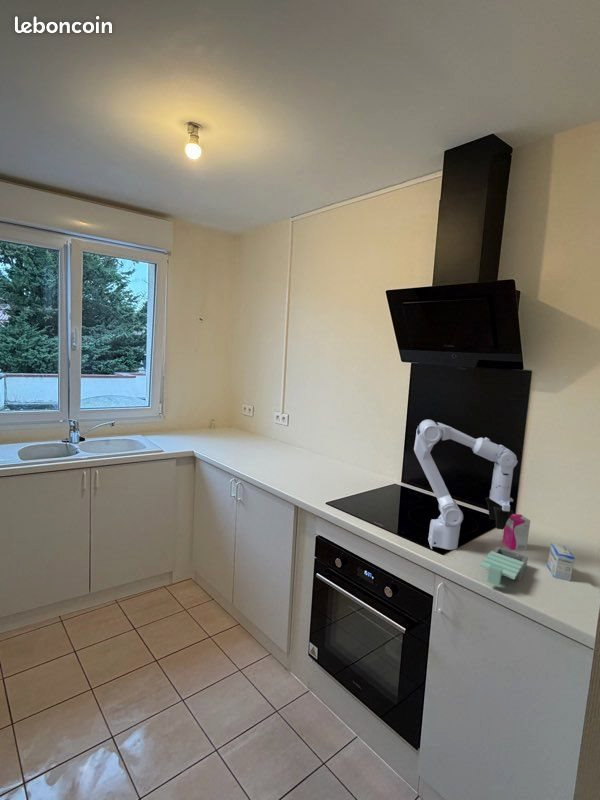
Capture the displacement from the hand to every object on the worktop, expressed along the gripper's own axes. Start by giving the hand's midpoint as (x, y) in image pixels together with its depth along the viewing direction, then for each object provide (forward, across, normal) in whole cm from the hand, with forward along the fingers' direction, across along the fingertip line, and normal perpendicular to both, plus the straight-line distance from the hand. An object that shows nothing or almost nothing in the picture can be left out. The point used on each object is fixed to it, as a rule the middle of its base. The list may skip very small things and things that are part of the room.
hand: (496, 524), depth 137 cm
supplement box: (+11, +7, -9) cm, 16 cm away
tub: (+10, -11, -1) cm, 15 cm away
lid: (+8, -19, +4) cm, 21 cm away
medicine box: (+11, -9, -17) cm, 22 cm away
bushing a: (+10, -10, -4) cm, 14 cm away
